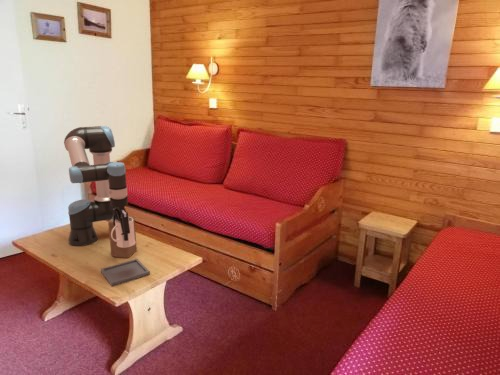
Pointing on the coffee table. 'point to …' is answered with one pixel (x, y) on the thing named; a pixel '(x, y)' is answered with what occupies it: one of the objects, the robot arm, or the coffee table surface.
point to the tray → (124, 272)
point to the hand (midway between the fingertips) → (122, 243)
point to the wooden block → (120, 251)
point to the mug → (119, 232)
